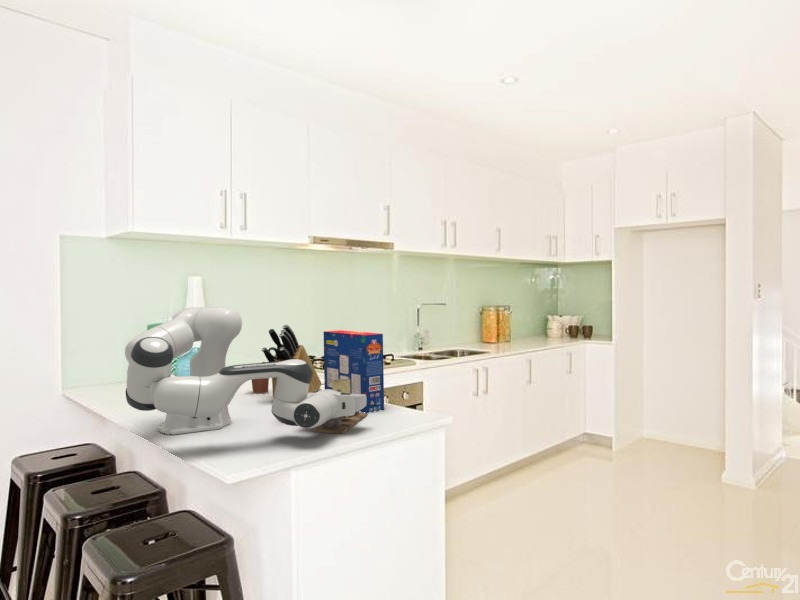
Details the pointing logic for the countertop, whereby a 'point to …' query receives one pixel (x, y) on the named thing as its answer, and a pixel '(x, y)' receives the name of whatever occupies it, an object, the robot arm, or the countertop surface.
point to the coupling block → (342, 387)
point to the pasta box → (356, 364)
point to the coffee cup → (260, 386)
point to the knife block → (290, 354)
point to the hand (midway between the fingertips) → (342, 395)
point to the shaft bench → (343, 425)
